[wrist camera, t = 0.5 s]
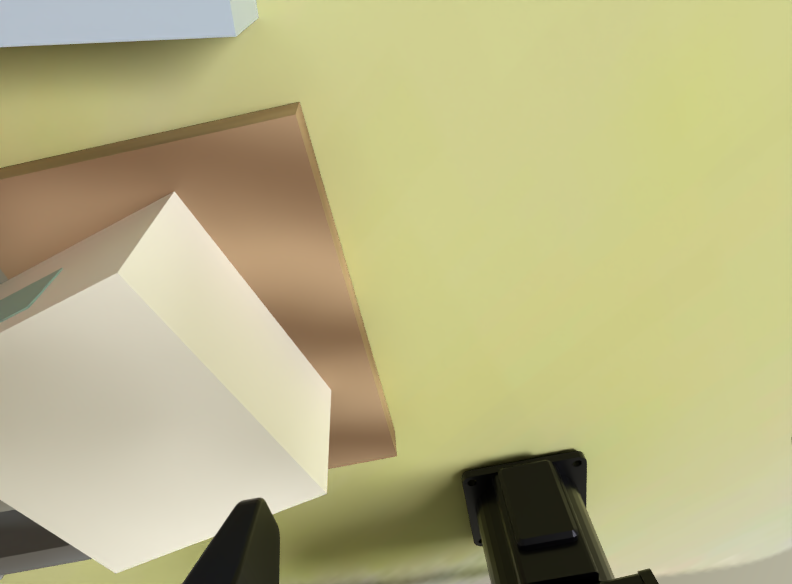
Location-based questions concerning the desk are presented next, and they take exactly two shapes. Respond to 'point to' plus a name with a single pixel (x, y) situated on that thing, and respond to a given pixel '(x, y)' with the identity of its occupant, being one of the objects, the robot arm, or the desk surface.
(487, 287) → the desk surface
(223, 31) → the pencil case
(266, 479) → the carton
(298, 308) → the display board
